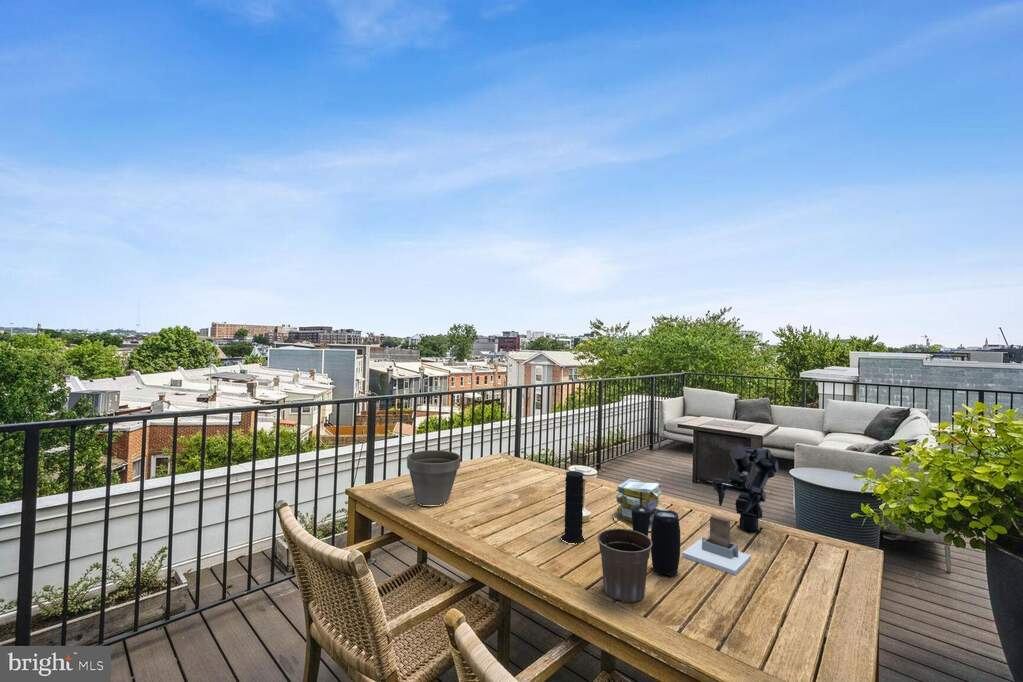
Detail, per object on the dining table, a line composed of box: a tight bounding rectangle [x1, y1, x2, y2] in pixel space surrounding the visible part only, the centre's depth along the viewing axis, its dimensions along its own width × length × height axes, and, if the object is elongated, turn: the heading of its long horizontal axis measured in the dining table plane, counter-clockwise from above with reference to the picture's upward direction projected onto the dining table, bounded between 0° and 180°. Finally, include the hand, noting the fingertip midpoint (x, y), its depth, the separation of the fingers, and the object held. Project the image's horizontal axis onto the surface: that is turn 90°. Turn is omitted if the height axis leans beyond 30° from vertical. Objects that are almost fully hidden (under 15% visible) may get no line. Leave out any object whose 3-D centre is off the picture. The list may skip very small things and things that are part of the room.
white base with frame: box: [681, 535, 752, 576], centre depth 162 cm, size 16×18×4 cm
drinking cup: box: [631, 492, 652, 537], centre depth 172 cm, size 8×8×20 cm
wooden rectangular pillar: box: [709, 514, 731, 549], centre depth 164 cm, size 4×6×12 cm, turn 46°
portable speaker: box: [650, 509, 681, 578], centre depth 152 cm, size 9×9×20 cm
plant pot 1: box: [406, 449, 462, 505], centre depth 213 cm, size 25×25×22 cm
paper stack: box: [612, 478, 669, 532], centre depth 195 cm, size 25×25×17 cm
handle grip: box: [560, 470, 585, 544], centre depth 175 cm, size 10×26×10 cm
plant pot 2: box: [596, 528, 652, 603], centre depth 138 cm, size 16×16×16 cm
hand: (732, 508), depth 174 cm, fingers open, 9 cm apart
